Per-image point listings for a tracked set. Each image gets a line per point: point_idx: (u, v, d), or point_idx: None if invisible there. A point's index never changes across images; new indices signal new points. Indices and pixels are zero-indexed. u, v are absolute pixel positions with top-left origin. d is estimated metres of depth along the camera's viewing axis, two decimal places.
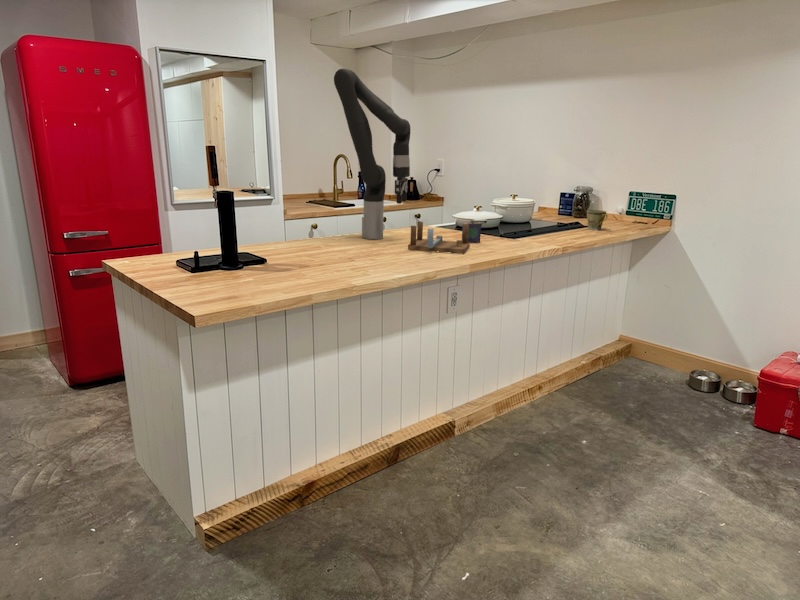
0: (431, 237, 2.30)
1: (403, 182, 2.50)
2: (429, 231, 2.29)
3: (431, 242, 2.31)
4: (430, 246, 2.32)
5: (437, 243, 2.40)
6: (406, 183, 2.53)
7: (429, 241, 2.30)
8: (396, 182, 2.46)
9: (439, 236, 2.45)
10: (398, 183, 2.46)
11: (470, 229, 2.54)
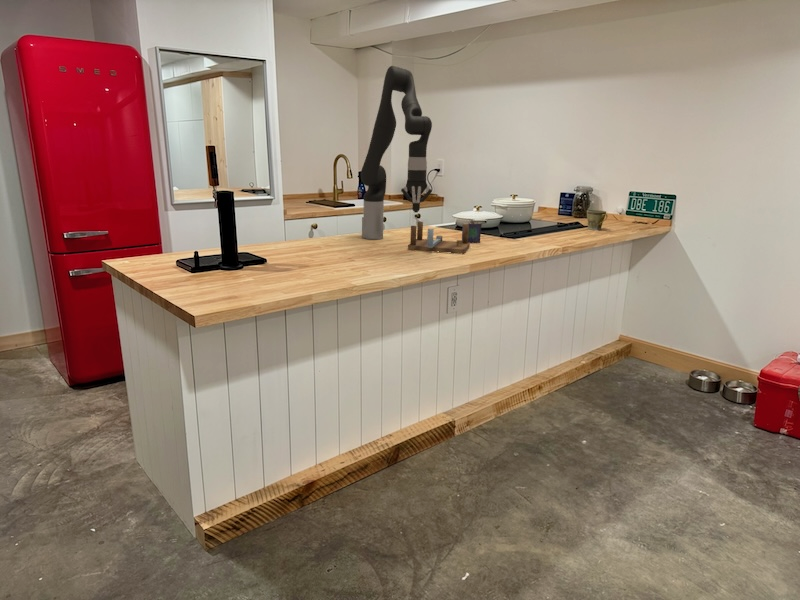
0: (431, 237, 2.30)
1: None
2: (429, 231, 2.29)
3: (431, 242, 2.31)
4: (430, 246, 2.32)
5: (437, 243, 2.40)
6: None
7: (429, 241, 2.30)
8: (430, 192, 2.25)
9: (439, 236, 2.45)
10: None
11: (470, 229, 2.54)
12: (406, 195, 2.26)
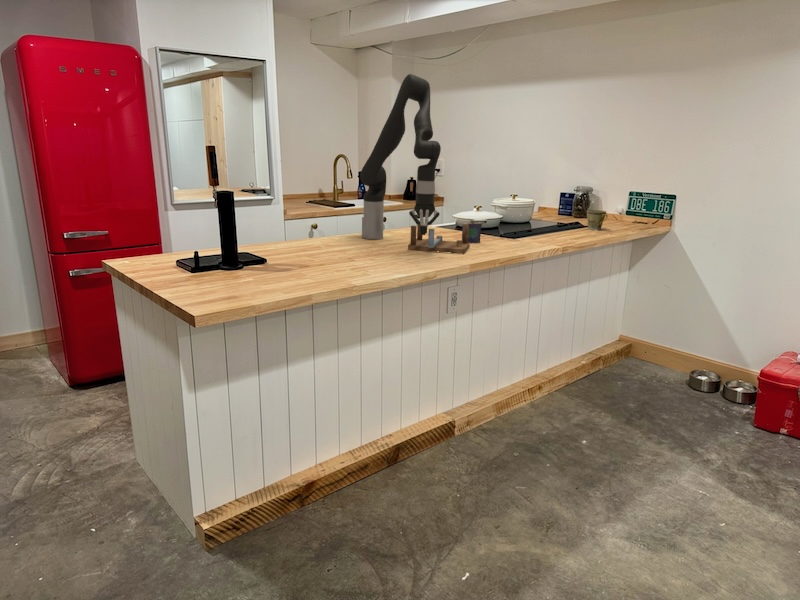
0: (432, 237, 2.30)
1: None
2: (430, 231, 2.29)
3: (432, 242, 2.30)
4: (431, 246, 2.31)
5: (437, 243, 2.40)
6: None
7: (430, 241, 2.30)
8: (438, 215, 2.27)
9: (439, 236, 2.45)
10: None
11: (470, 229, 2.54)
12: (414, 218, 2.28)
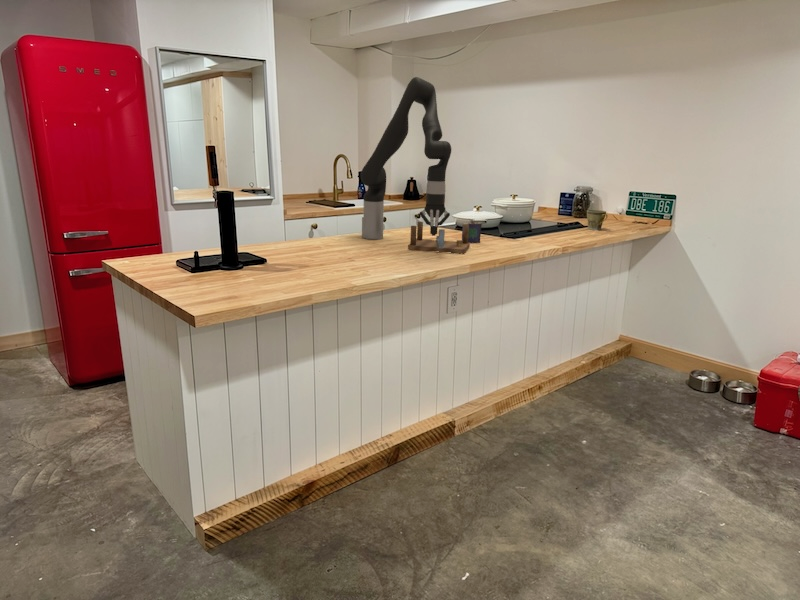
0: (443, 238, 2.29)
1: None
2: (441, 232, 2.28)
3: (443, 243, 2.30)
4: (441, 247, 2.31)
5: None
6: None
7: (441, 242, 2.30)
8: (448, 216, 2.27)
9: None
10: None
11: (470, 229, 2.54)
12: (424, 218, 2.27)
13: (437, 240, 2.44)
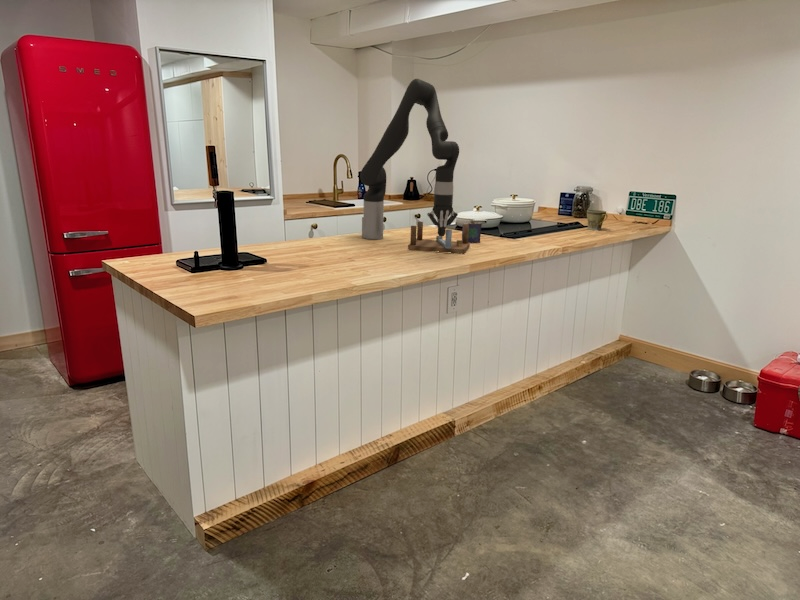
0: (450, 238, 2.30)
1: None
2: (449, 232, 2.29)
3: (450, 243, 2.30)
4: (449, 247, 2.31)
5: None
6: None
7: (449, 242, 2.30)
8: None
9: (440, 236, 2.45)
10: None
11: (470, 229, 2.54)
12: (434, 220, 2.25)
13: (438, 240, 2.44)
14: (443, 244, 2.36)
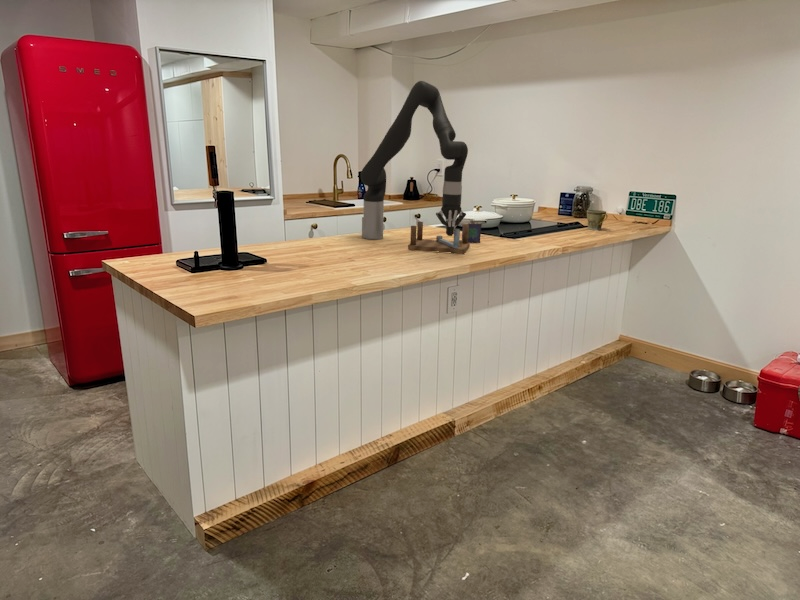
0: (459, 237, 2.31)
1: None
2: (457, 232, 2.30)
3: (458, 242, 2.32)
4: (457, 246, 2.32)
5: None
6: None
7: (457, 242, 2.31)
8: None
9: (441, 236, 2.45)
10: None
11: (470, 229, 2.54)
12: (442, 219, 2.26)
13: (439, 240, 2.44)
14: (449, 244, 2.36)
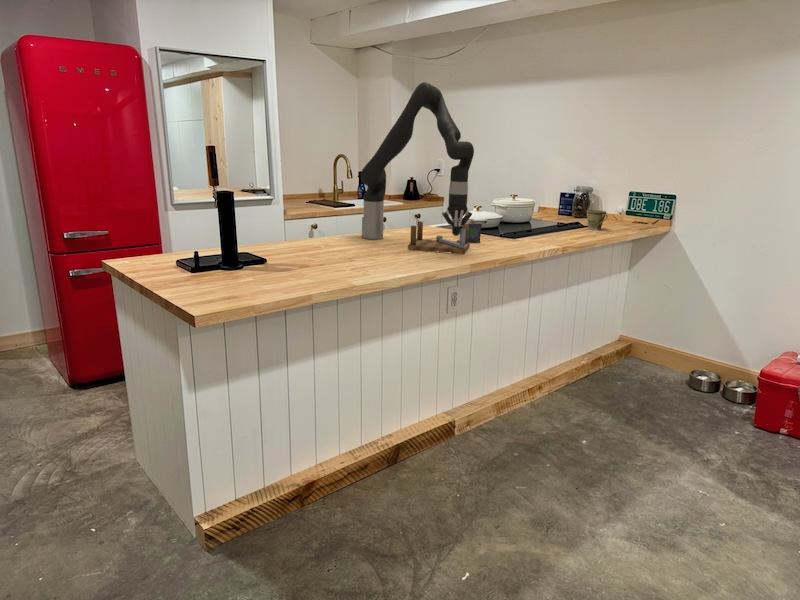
0: None
1: None
2: (464, 231, 2.31)
3: (464, 242, 2.33)
4: (463, 246, 2.34)
5: None
6: None
7: (464, 241, 2.32)
8: None
9: (441, 236, 2.46)
10: None
11: (470, 229, 2.54)
12: (449, 219, 2.27)
13: (440, 240, 2.44)
14: (453, 244, 2.37)
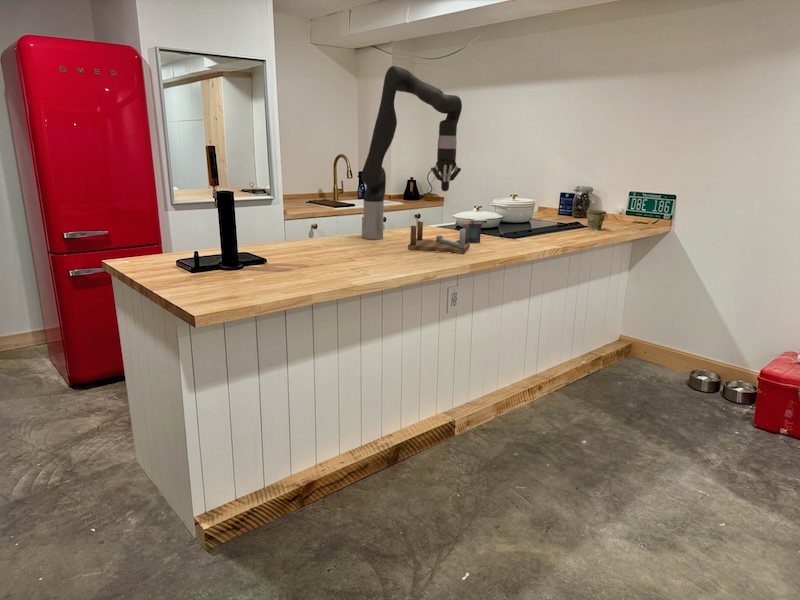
0: None
1: None
2: (464, 231, 2.31)
3: (464, 242, 2.33)
4: (463, 246, 2.34)
5: None
6: None
7: (464, 241, 2.32)
8: None
9: (441, 236, 2.46)
10: None
11: (470, 229, 2.54)
12: (437, 174, 2.27)
13: (440, 240, 2.44)
14: (453, 244, 2.37)
